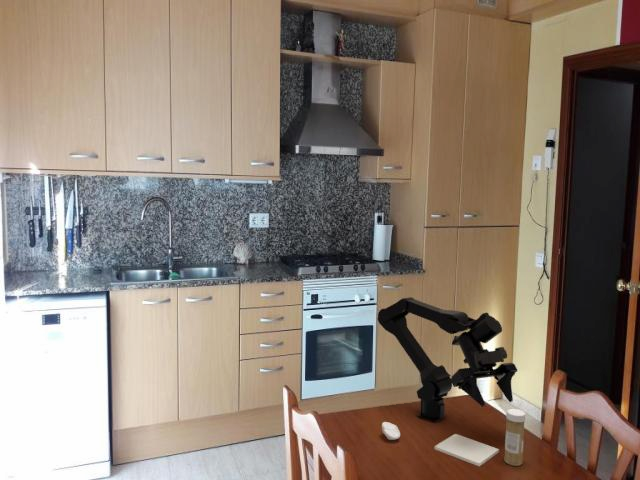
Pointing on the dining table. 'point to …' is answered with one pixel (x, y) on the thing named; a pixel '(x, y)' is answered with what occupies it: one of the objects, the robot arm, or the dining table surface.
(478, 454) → the ceramic tile
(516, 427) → the sprinkles bottle
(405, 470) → the dining table surface
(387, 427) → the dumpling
